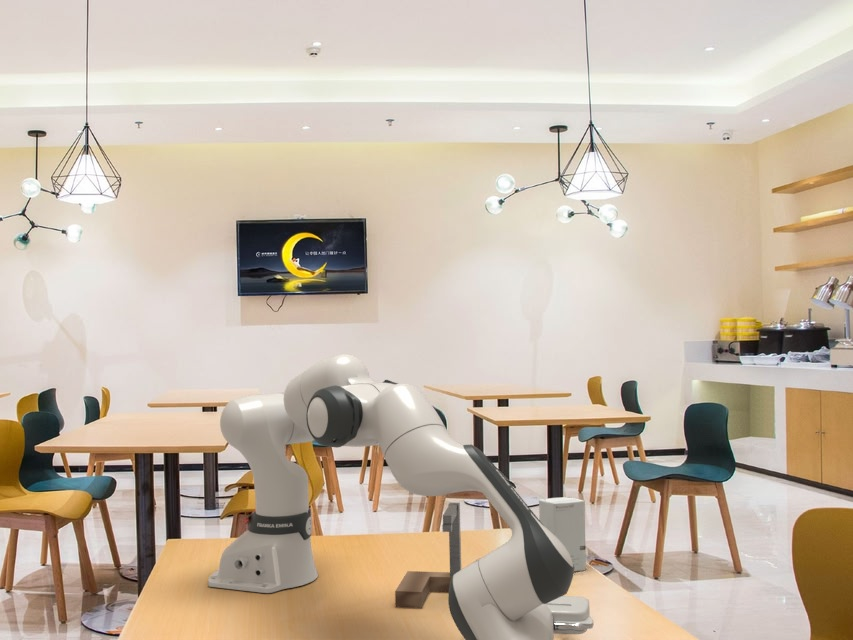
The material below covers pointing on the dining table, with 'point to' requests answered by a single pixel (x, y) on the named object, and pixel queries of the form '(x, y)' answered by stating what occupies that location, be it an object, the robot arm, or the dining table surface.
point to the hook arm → (453, 535)
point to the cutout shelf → (420, 587)
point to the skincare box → (566, 525)
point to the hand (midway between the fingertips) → (527, 594)
